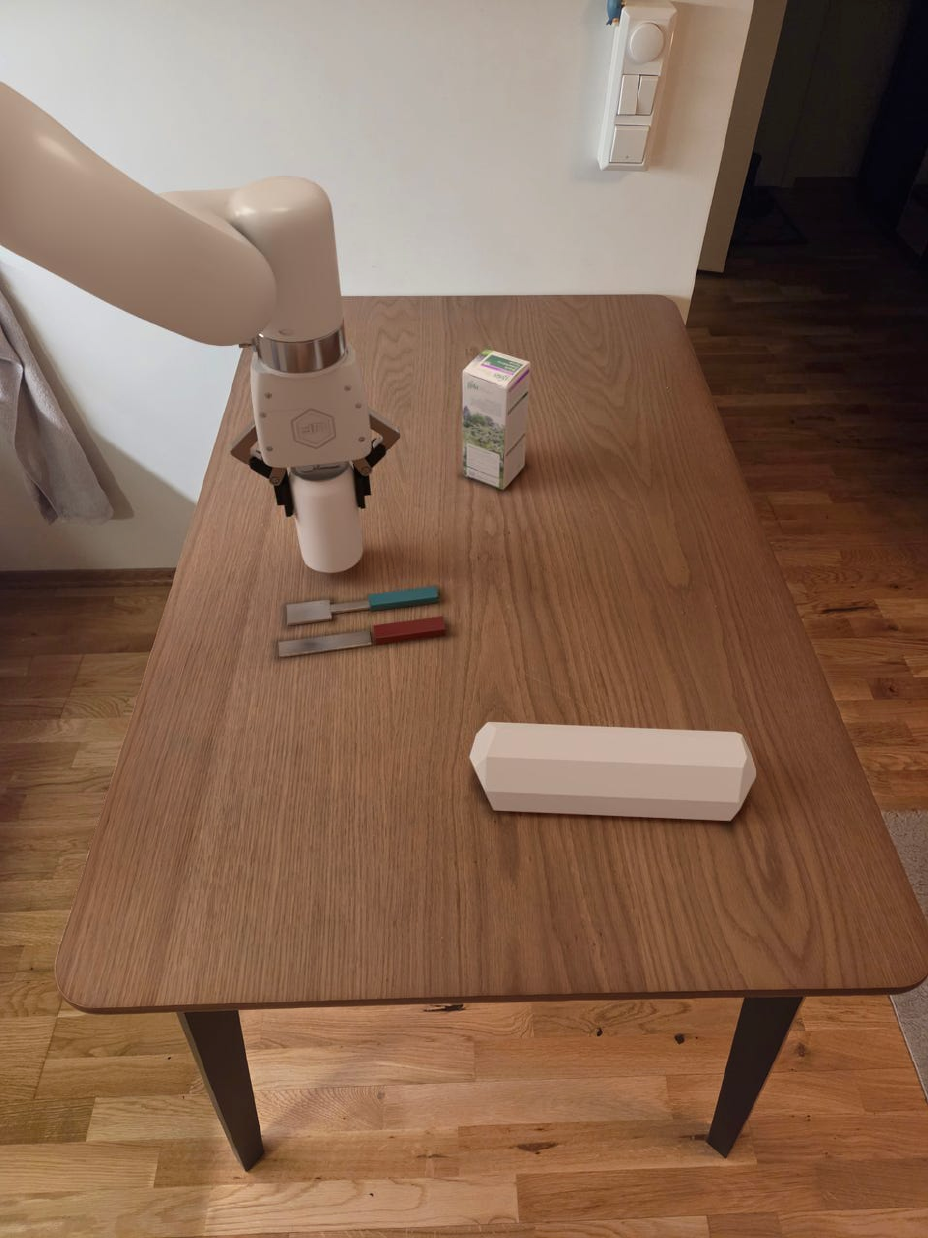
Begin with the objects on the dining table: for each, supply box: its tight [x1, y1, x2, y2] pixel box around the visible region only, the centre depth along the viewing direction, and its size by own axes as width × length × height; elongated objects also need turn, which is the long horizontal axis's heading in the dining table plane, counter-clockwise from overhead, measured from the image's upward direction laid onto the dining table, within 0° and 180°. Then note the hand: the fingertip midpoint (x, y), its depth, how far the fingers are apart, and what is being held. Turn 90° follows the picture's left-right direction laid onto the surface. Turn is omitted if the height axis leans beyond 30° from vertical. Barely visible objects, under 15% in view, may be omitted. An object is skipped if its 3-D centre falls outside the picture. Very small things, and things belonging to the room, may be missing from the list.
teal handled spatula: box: [286, 585, 439, 626], centre depth 88 cm, size 15×3×1 cm, turn 100°
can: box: [288, 461, 364, 574], centre depth 87 cm, size 6×6×12 cm
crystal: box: [468, 721, 757, 822], centre depth 73 cm, size 7×7×24 cm
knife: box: [278, 615, 446, 658], centre depth 85 cm, size 16×2×1 cm, turn 100°
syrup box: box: [461, 348, 531, 491], centre depth 98 cm, size 6×6×14 cm
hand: (325, 502), depth 86 cm, fingers closed on can, 6 cm apart
